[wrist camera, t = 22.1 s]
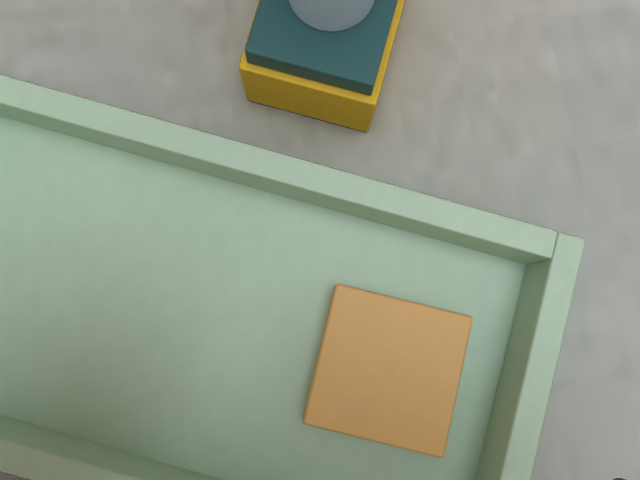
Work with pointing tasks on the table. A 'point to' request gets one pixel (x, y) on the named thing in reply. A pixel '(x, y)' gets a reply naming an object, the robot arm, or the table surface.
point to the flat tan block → (388, 370)
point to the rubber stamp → (320, 57)
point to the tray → (240, 304)
